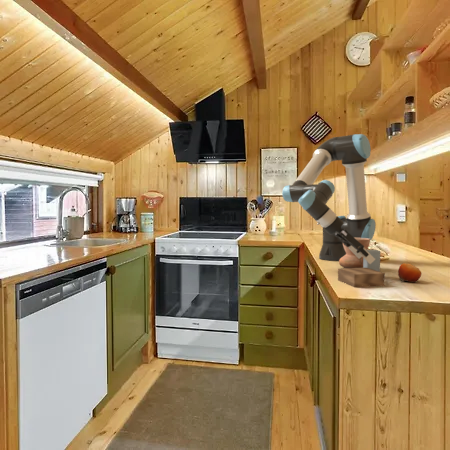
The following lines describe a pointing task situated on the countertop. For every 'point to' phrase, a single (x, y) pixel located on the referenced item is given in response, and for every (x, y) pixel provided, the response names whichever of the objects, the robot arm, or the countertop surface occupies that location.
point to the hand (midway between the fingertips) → (366, 259)
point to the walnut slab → (361, 277)
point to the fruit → (409, 273)
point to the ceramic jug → (353, 255)
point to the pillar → (376, 263)
